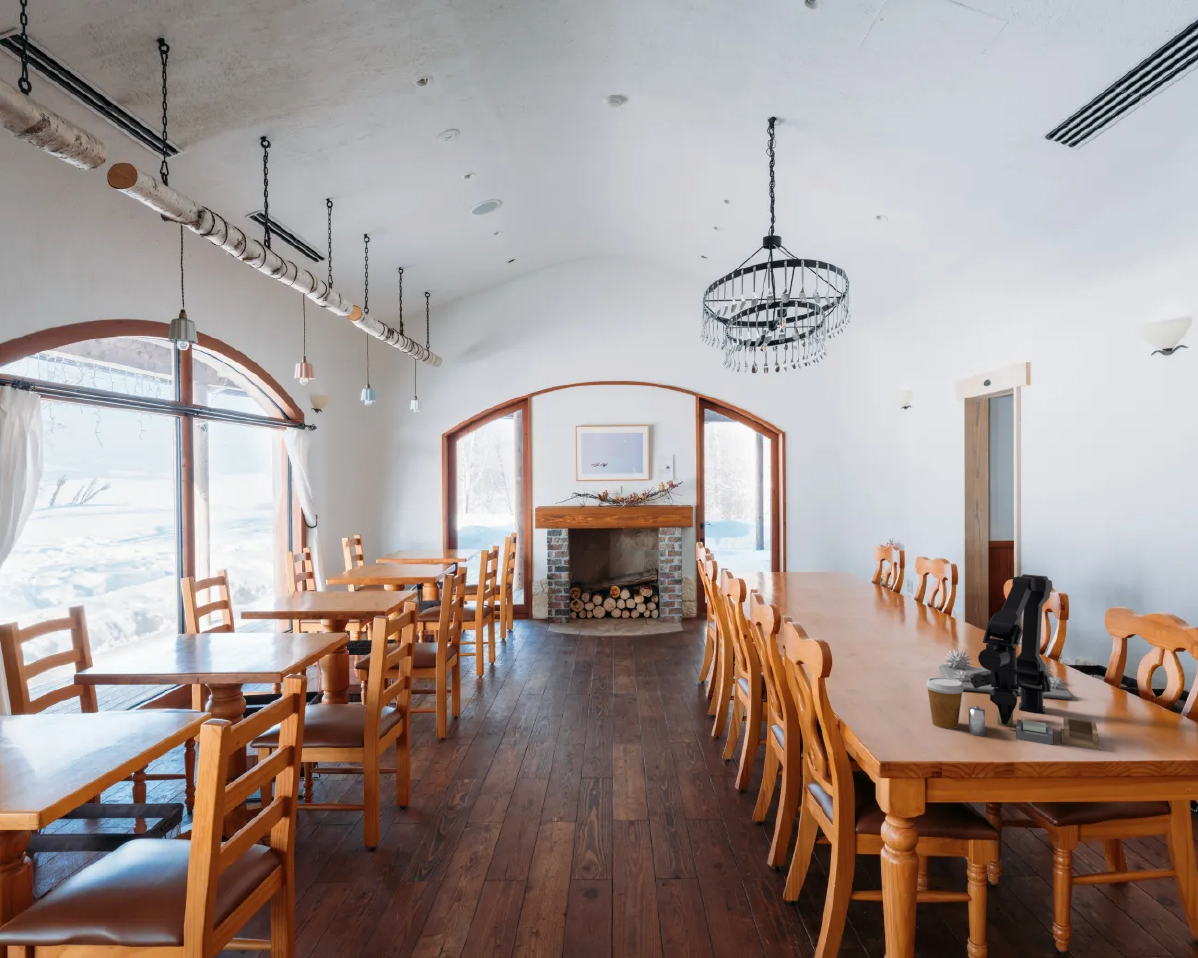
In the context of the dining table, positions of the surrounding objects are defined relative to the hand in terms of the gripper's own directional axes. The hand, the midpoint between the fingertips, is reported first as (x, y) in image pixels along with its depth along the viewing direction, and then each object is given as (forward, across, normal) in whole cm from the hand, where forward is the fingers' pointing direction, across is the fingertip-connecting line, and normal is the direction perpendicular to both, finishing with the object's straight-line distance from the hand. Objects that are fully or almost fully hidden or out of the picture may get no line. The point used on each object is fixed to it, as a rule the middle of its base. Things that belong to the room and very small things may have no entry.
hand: (1005, 720), depth 192 cm
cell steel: (+1, +12, -6) cm, 13 cm away
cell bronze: (+1, 0, 0) cm, 1 cm away
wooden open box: (+1, +4, +17) cm, 17 cm away
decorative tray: (+2, -43, -3) cm, 43 cm away
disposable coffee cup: (+1, +9, -14) cm, 17 cm away
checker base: (+1, +7, +7) cm, 10 cm away
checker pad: (-1, +7, +7) cm, 10 cm away
